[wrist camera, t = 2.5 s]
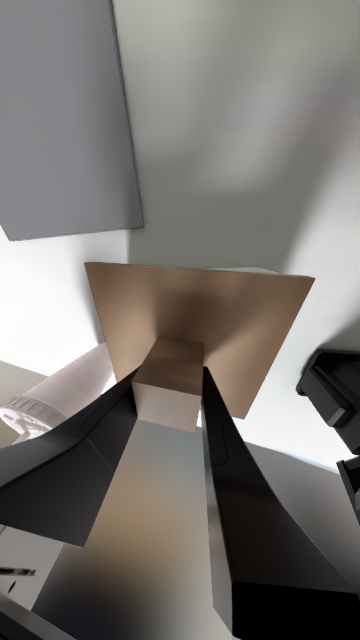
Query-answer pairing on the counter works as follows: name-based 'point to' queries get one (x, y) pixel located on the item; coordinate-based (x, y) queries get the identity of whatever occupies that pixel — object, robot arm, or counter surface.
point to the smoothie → (59, 395)
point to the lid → (193, 333)
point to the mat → (63, 122)
